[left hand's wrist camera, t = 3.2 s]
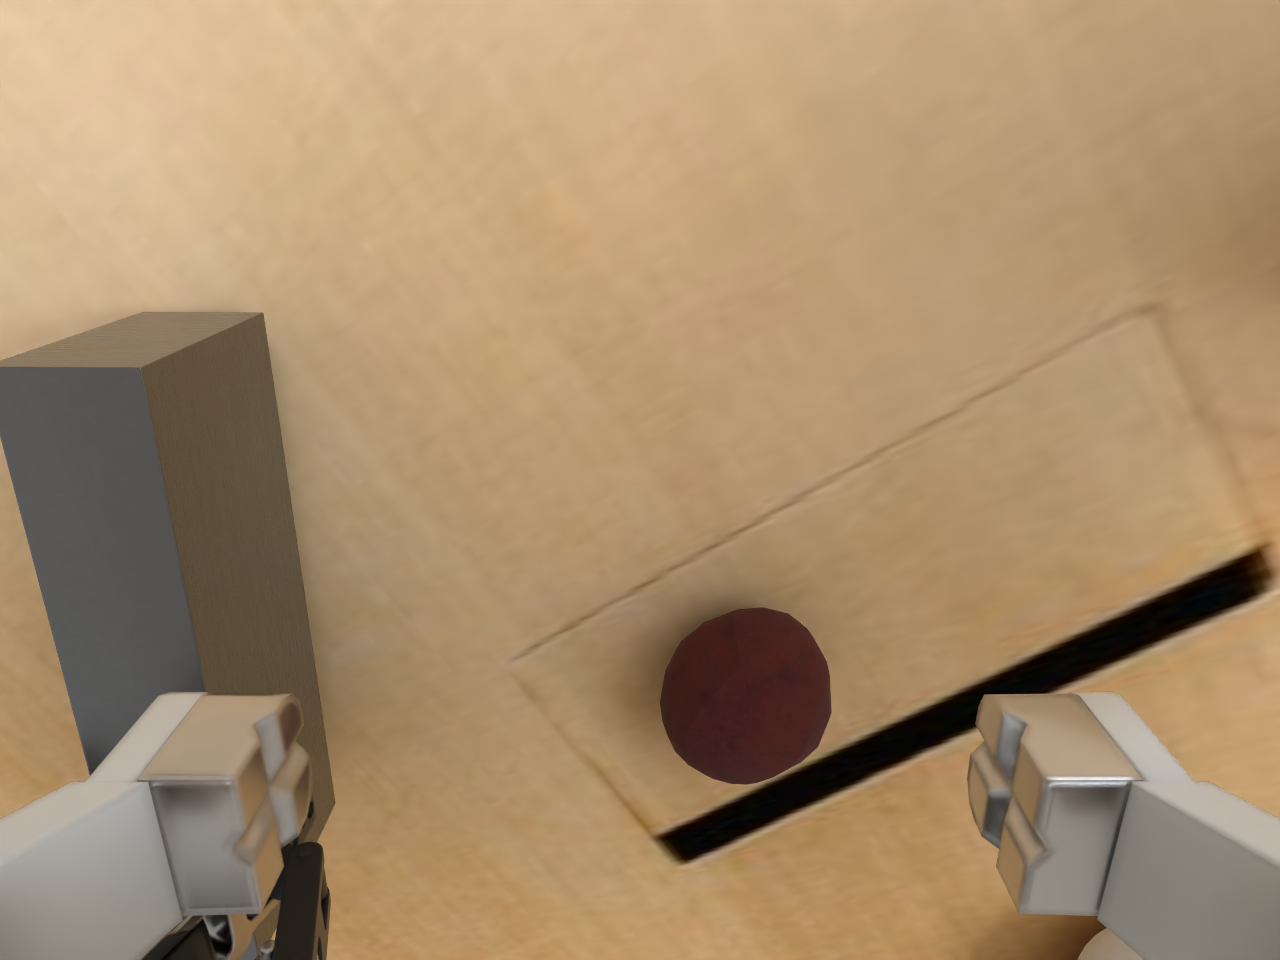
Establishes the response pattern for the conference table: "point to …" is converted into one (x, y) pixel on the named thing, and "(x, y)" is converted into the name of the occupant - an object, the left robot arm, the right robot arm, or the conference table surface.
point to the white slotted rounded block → (1107, 948)
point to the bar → (163, 524)
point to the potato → (746, 696)
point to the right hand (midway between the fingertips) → (234, 786)
